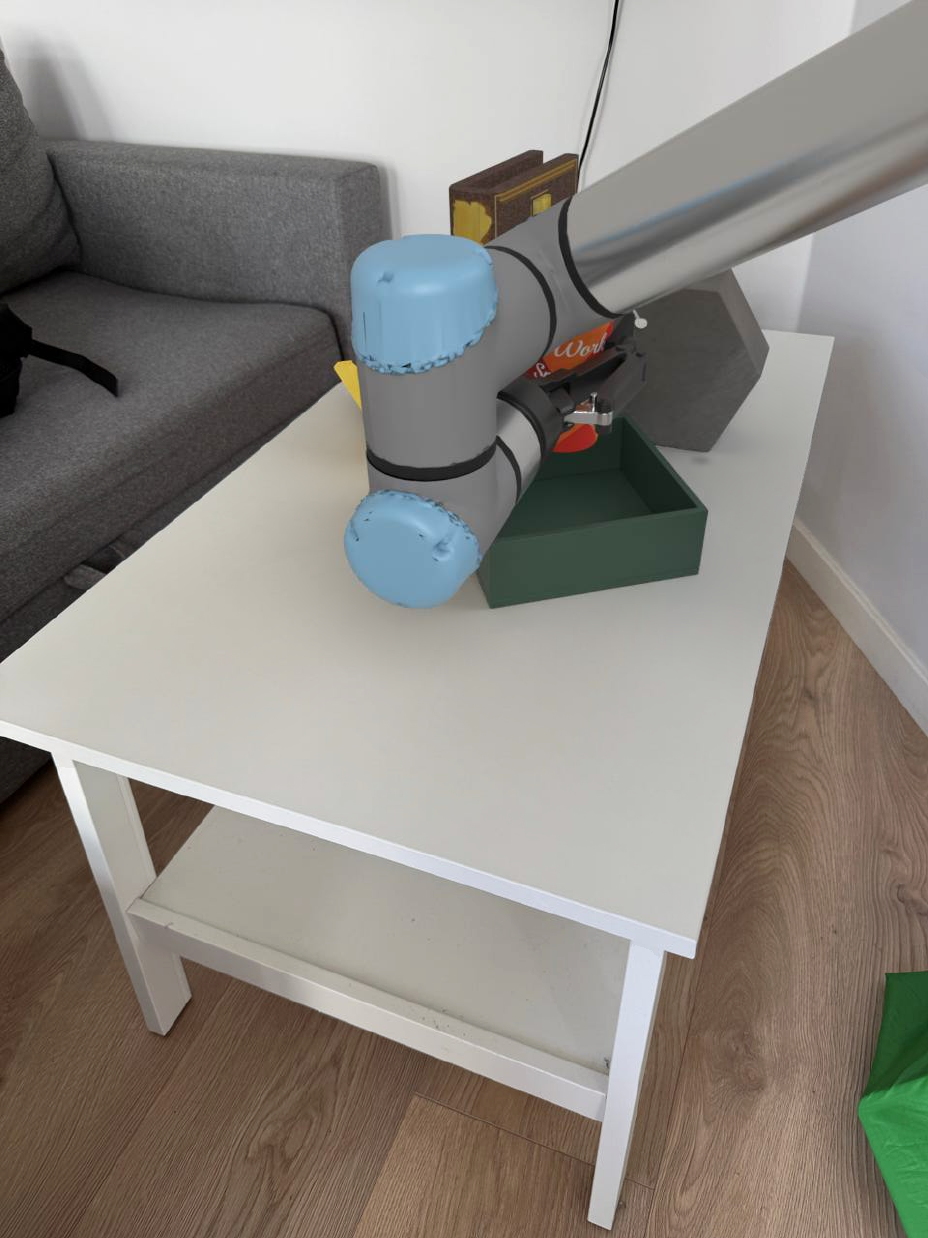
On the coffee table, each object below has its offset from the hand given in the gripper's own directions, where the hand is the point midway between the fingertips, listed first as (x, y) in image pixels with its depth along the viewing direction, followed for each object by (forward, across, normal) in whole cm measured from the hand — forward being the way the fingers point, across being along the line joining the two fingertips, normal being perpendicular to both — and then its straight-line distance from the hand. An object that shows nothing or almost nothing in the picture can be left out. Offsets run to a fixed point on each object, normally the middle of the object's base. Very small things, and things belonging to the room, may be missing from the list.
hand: (584, 323), depth 79 cm
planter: (+20, +4, -20) cm, 29 cm away
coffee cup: (-5, 0, -8) cm, 10 cm away
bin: (-4, 0, -19) cm, 20 cm away
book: (+27, -15, -20) cm, 37 cm away
